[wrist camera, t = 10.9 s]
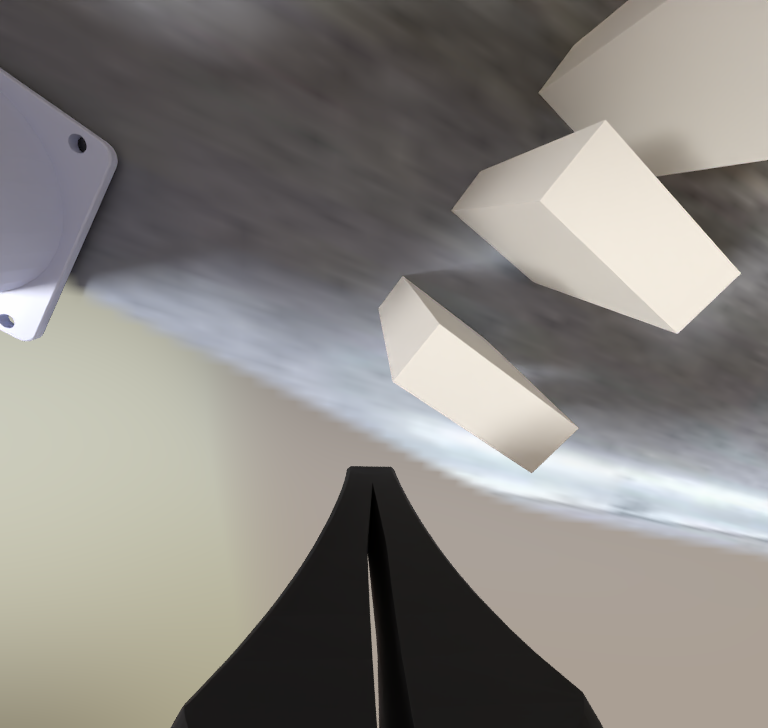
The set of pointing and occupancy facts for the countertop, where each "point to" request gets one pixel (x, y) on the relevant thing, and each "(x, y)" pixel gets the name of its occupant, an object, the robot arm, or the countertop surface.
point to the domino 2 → (673, 82)
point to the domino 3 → (598, 229)
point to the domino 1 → (468, 378)
